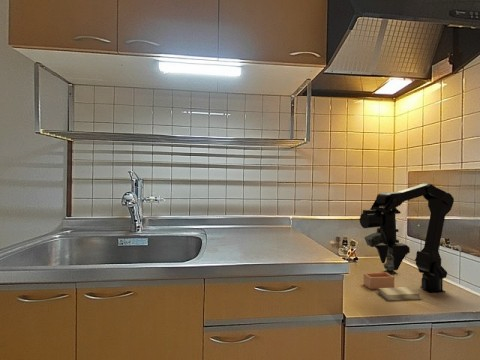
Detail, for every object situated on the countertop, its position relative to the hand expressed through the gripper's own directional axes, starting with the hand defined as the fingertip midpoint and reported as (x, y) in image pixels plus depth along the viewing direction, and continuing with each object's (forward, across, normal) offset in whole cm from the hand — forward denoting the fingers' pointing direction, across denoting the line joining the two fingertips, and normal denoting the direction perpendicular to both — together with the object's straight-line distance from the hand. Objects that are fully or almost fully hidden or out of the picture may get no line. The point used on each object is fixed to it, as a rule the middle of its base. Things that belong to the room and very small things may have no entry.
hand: (389, 266), depth 120 cm
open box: (+11, -9, 0) cm, 15 cm away
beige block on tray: (+11, +2, +2) cm, 11 cm away
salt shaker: (+12, -28, +15) cm, 34 cm away
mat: (+11, +2, +2) cm, 12 cm away
